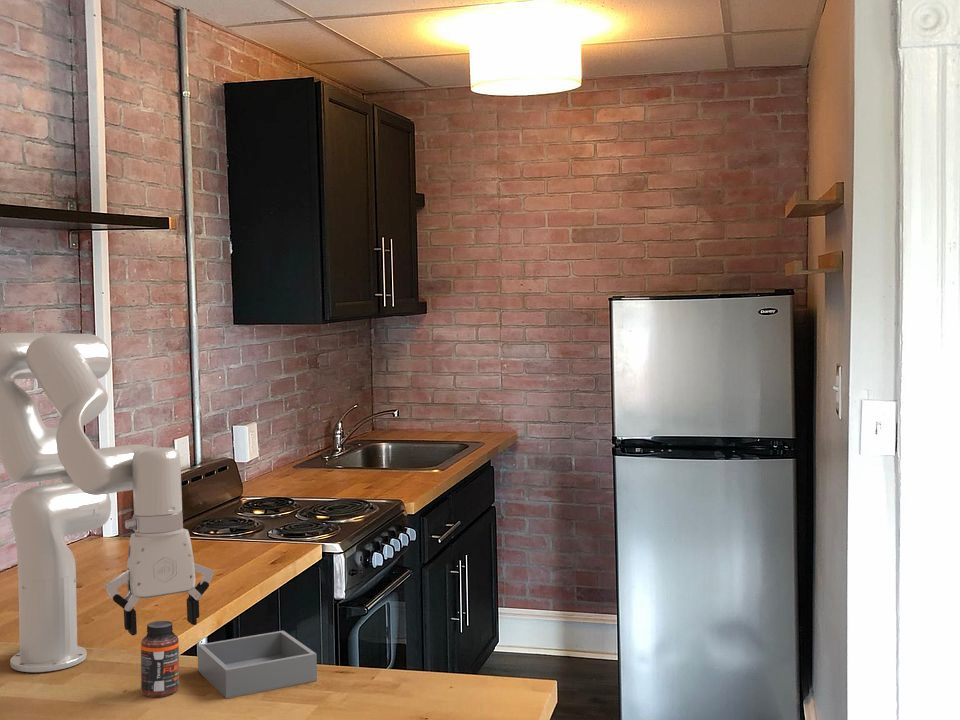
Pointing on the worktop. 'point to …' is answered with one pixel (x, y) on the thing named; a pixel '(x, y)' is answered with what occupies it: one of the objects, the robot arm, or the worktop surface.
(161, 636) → the supplement bottle
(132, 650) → the worktop surface
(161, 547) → the robot arm
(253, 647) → the bin
